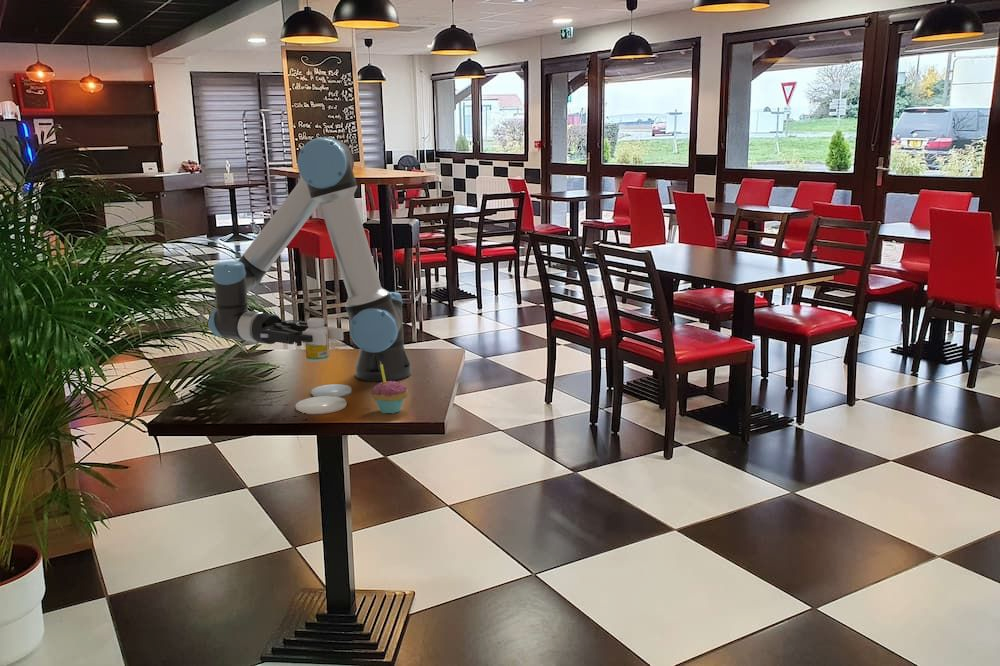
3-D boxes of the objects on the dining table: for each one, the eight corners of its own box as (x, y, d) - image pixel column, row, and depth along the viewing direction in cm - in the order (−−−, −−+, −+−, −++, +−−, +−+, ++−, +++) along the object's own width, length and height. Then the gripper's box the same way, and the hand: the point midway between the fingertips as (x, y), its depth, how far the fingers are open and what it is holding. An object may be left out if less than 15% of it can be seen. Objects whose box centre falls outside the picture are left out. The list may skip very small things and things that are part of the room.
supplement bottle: (310, 356, 197) (308, 317, 194) (332, 356, 196) (330, 317, 194) (303, 362, 191) (300, 321, 189) (325, 362, 191) (323, 322, 189)
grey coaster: (343, 385, 214) (343, 382, 214) (357, 394, 206) (357, 391, 206) (306, 391, 209) (306, 388, 209) (318, 400, 201) (318, 397, 201)
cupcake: (368, 415, 189) (365, 365, 186) (378, 404, 197) (375, 356, 195) (403, 416, 188) (401, 366, 185) (412, 405, 196) (410, 357, 193)
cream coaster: (336, 396, 204) (336, 393, 204) (353, 408, 194) (353, 405, 194) (289, 404, 198) (289, 401, 198) (304, 417, 188) (304, 414, 188)
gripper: (289, 335, 210) (359, 344, 198) (234, 350, 194) (307, 361, 183) (287, 306, 208) (358, 314, 197) (231, 319, 192) (305, 328, 181)
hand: (333, 337), depth 190 cm, fingers closed on supplement bottle, 5 cm apart
